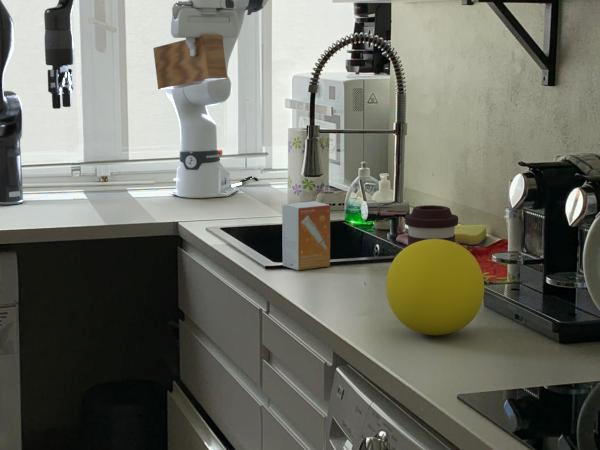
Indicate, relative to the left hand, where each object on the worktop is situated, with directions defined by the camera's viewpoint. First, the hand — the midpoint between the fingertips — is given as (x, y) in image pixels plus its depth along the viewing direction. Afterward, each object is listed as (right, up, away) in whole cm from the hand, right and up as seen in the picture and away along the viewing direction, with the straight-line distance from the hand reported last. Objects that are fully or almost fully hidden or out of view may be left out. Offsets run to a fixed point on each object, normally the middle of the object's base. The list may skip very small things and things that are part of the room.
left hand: (62, 107), depth 285 cm
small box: (+66, -41, -68) cm, 103 cm away
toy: (+86, -49, -119) cm, 155 cm away
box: (+36, +6, -6) cm, 37 cm away
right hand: (+40, +12, -11) cm, 43 cm away
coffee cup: (+90, -44, -87) cm, 132 cm away
